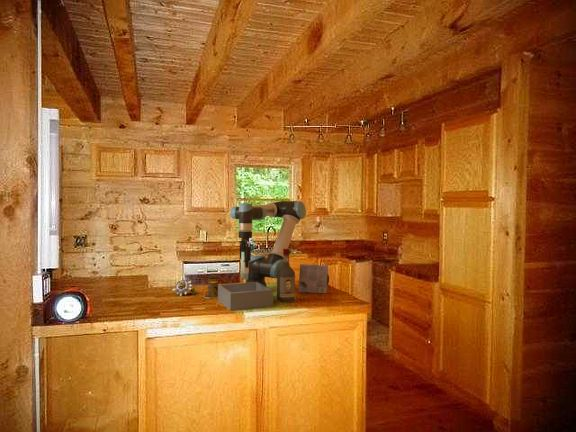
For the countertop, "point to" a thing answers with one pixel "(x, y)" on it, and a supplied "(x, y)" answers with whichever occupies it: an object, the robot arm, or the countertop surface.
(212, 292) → the condiment
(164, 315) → the countertop surface
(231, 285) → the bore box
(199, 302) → the countertop surface
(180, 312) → the countertop surface
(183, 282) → the passion flower
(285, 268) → the liquor
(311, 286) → the cake pan box
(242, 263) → the peg
